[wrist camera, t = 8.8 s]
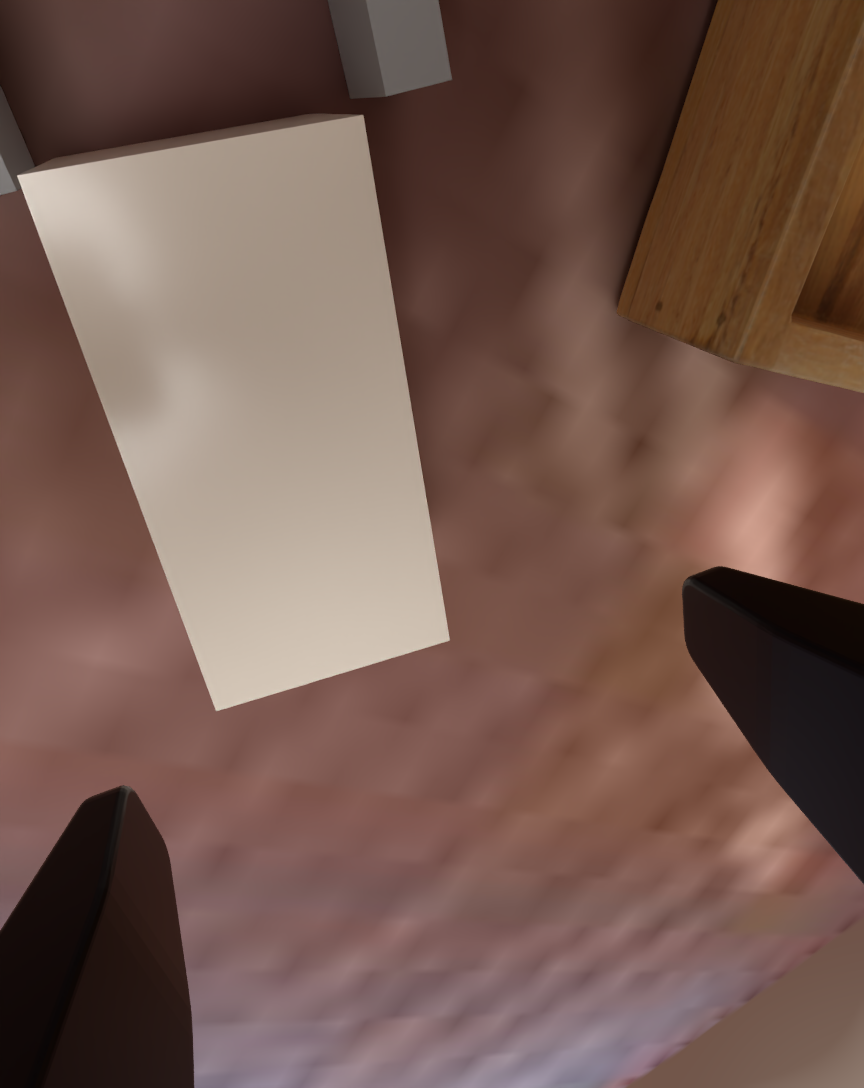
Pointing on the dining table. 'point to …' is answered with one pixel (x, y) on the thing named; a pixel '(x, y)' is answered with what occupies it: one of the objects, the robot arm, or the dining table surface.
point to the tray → (765, 197)
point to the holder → (366, 53)
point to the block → (254, 390)
